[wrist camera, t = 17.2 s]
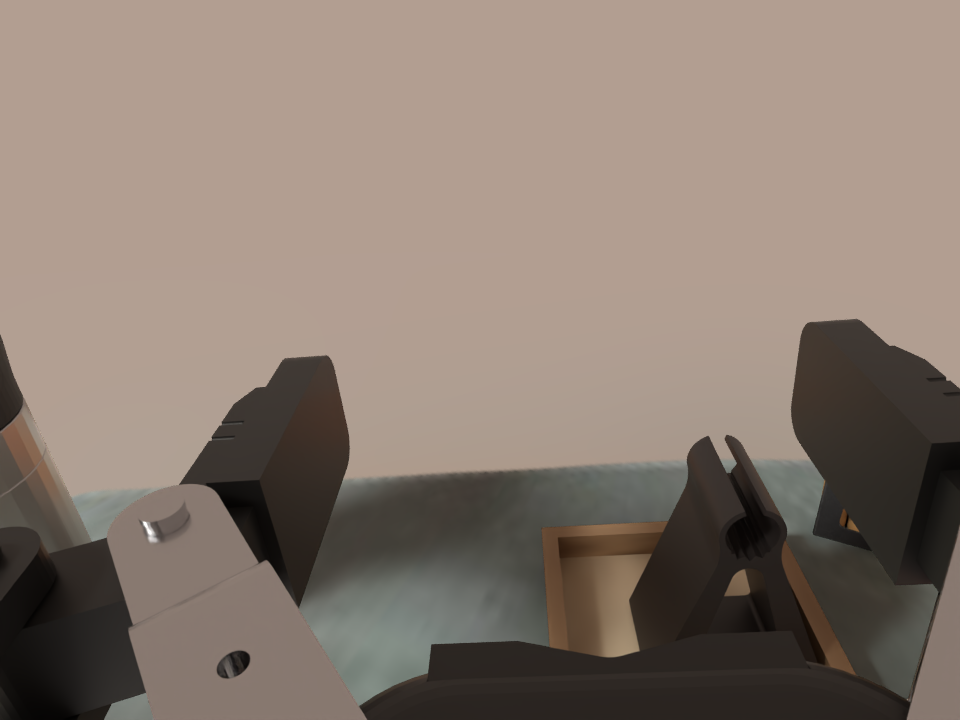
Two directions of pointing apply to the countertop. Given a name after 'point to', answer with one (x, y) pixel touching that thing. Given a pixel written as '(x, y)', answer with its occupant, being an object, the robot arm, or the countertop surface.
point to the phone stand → (717, 559)
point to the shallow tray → (613, 577)
